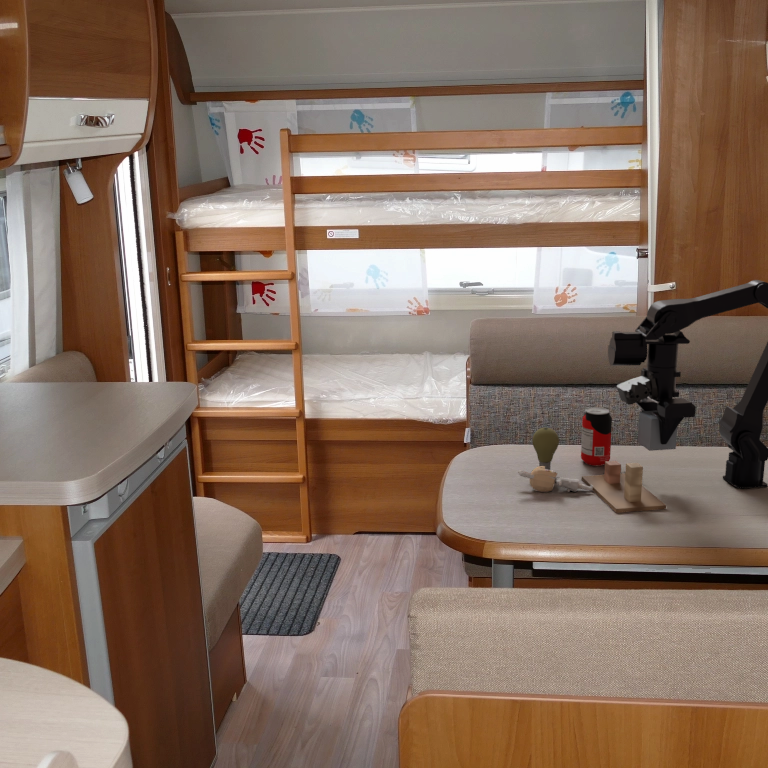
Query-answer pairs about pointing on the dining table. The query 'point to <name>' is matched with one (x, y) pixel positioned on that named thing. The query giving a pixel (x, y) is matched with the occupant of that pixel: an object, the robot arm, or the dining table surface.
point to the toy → (551, 480)
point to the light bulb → (545, 445)
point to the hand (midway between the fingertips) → (656, 439)
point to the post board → (623, 488)
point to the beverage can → (596, 436)
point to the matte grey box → (653, 433)
